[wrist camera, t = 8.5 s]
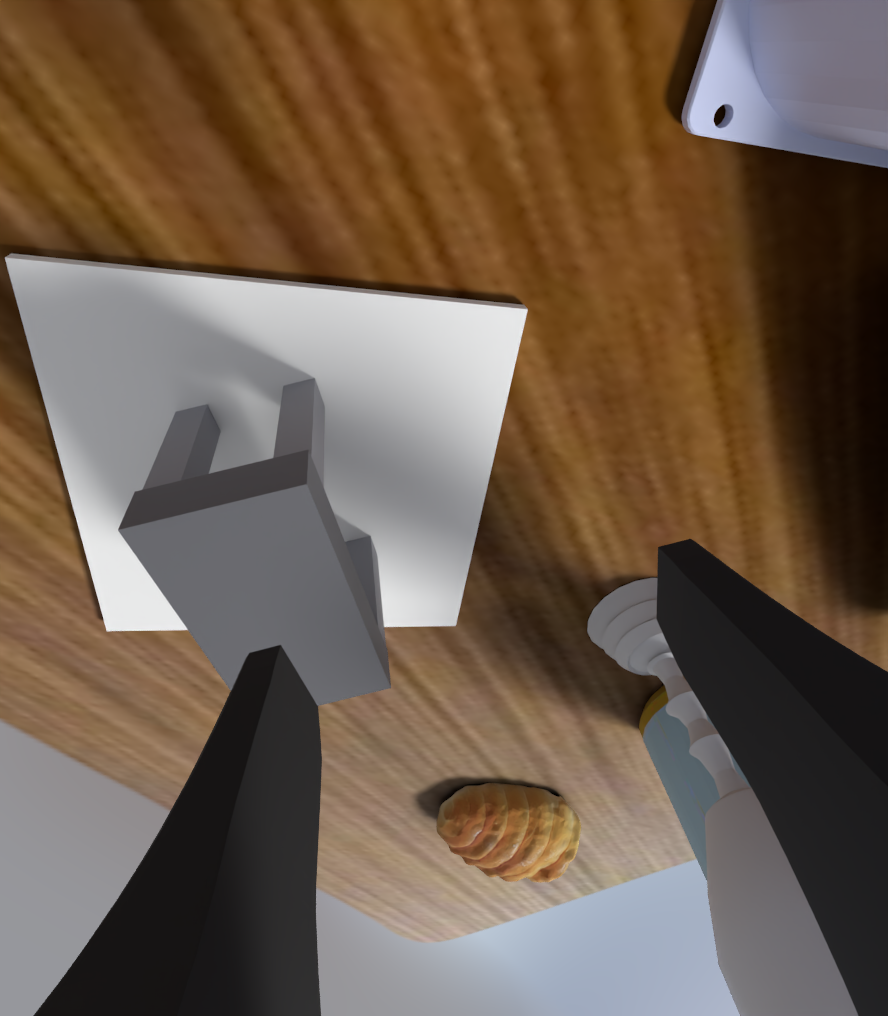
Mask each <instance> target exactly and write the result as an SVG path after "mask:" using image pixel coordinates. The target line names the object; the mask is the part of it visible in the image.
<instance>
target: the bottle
mask: <svg viewBox="0 0 888 1016" xmlns="http://www.w3.org/2000/svg"><path fill="white" fill-rule="evenodd" d="M683 678H684V679H685V677H684V676H683ZM685 680H686V679H685ZM668 701H669V699H668V695H667V691H666V688H665V685H663V686H662V687H661V688H660V689H659V690H658V691H656V692H655V693H654V694H653V695H652V696H651V697H650V699H649V700H648V702H647V703H646V705H645V707H644V710H643V713H642V716H641V719H640V724H639V730H640V733H641V735H642V737H643V740H644V743H645V745H646V748H647V750H648V752H649V754H650V756H651V759H652V761H653V763H654V765H655V767H656V770H657V772H658V774H659V776H660V778H661V781H662V783H663V785H664V787H665V789H666V792H667V794H668V796H669V798H670V801H671V803H672V805H673V807H674V809H675V812H676V814H677V816H678V818H679V820H680V823H681V825H682V827H683V829H684V831H685V834H686V836H687V838H688V840H689V842H690V845H691V847H692V849H693V851H694V854H695V856H696V858H697V860H698V862H699V865H700V866H701V869H702V871H703V873H704V876H705V878H706V880H707V858H706V832H705V816H706V812H707V811H708V810H709V809H710V808H711V806H712V805H713V804H715V803H716V802H717V801H718V800H719V799H720V796H719V793H718V789H717V786H716V783H715V780H714V778H713V777H712V775H711V774H710V773H709V771H708V770H707V769H706V768H705V766H704V765H703V764H702V762H701V761H700V760H699V759H697V758H695V757H694V756H692V755H690V753H689V749H690V743H691V742H690V737H689V733H688V728H687V727H686V726H685V725H684V724H683V723H682V722H681V721H680V720H679V718H676V717H673V716H670V715H669V714H667V712H666V706H667V703H668ZM706 716H707V720H708V721H709V723H710V724H711V725H712V726H713V727H714V725H713V723H712V722H711V720H710V719H709V717H708V715H707V714H706ZM714 728H715V727H714ZM715 729H716V728H715ZM728 750H729V749H728ZM729 753H730V751H729ZM730 756H731V759H732V762H733V765H734V768H735V770H736V772H737V773H738V774H739V775H740V776H741V778H742V779H743V780H744V781H745V782H746V784H747V785H748V786H749V787H751V786H750V784H749V783H748V781H747V779H746V777H745V776H744V774H743V772H742V771H741V769H740V767H739V766H738V764H737V763H736V761H735V759H734V758H733V756H732V754H731V753H730Z"/></svg>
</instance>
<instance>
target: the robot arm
mask: <svg viewBox="0 0 888 1016" xmlns="http://www.w3.org/2000/svg"><path fill="white" fill-rule="evenodd" d="M722 105H724V106H725V109H726V112H725V117H724V119H723V121H722V122H721V123H720V124H719V125H717V126H715V123H714V114H715V113H716V111H717V109H718V108H719V107H720V106H722ZM682 124H683V127H684V128H685V129H686V131H687V132H689V133H691V134H694V135H699V136H705V137H710V138H716V139H722V140H728V141H734V142H739V143H745V144H751V145H757V146H763V147H768V148H774V149H780V150H786V151H792V152H798V153H803V154H809V155H815V156H821V157H827V158H832V159H838V160H844V161H850V162H856V163H861V164H867V165H873V166H879V167H885V168H888V0H717V3H716V6H715V9H714V12H713V16H712V19H711V22H710V25H709V28H708V31H707V34H706V38H705V41H704V44H703V47H702V50H701V53H700V57H699V60H698V63H697V66H696V69H695V72H694V75H693V79H692V82H691V85H690V88H689V91H688V94H687V98H686V101H685V104H684V107H683V111H682ZM656 619H657V622H658V624H659V626H660V628H661V630H662V633H663V635H664V637H665V639H666V642H667V644H668V646H669V648H670V650H671V652H672V655H673V657H674V659H675V661H676V663H677V665H678V667H679V669H680V671H681V672H682V674H683V676H684V677H685V679H686V681H687V682H688V684H689V686H690V687H691V689H692V691H693V692H694V694H695V696H696V697H697V699H698V701H699V702H700V704H701V706H702V707H703V709H704V710H705V712H706V714H707V715H708V717H709V719H710V720H711V722H712V723H713V725H714V727H715V728H716V730H717V732H718V733H719V735H720V736H721V738H722V740H723V741H724V743H725V745H726V746H727V748H728V749H729V751H730V753H731V754H732V756H733V758H734V759H735V761H736V763H737V764H738V766H739V767H740V769H741V771H742V772H743V774H744V776H745V777H746V779H747V781H748V783H749V784H750V786H751V788H752V790H753V792H754V793H755V795H756V797H757V799H758V800H759V802H760V804H761V806H762V808H763V810H764V812H765V815H766V817H767V819H768V821H769V823H770V825H771V827H772V829H773V831H774V833H775V835H776V837H777V839H778V841H779V843H780V845H781V847H782V849H783V851H784V853H785V855H786V857H787V859H788V861H789V863H790V865H791V868H792V870H793V872H794V874H795V876H796V878H797V880H798V882H799V884H800V887H801V889H802V891H803V893H804V895H805V897H806V899H807V901H808V903H809V906H810V908H811V910H812V912H813V914H814V916H815V919H816V921H817V923H818V925H819V927H820V930H821V932H822V934H823V936H824V938H825V941H826V943H827V945H828V947H829V950H830V952H831V954H832V956H833V958H834V961H835V963H836V965H837V967H838V970H839V972H840V974H841V976H842V978H843V981H844V983H845V985H846V988H847V990H848V992H849V995H850V997H851V999H852V1002H853V1004H854V1006H855V1009H856V1011H857V1013H858V1016H888V672H887V671H885V670H883V669H882V668H880V667H878V666H877V665H875V664H873V663H871V662H870V661H868V660H866V659H865V658H863V657H861V656H860V655H858V654H856V653H855V652H853V651H852V650H850V649H848V648H847V647H845V646H843V645H842V644H840V643H839V642H837V641H835V640H834V639H832V638H831V637H829V636H827V635H826V634H824V633H823V632H821V631H820V630H818V629H817V628H815V627H814V626H812V625H810V624H809V623H807V622H806V621H804V620H803V619H802V618H800V617H799V616H797V615H796V614H794V613H793V612H791V611H790V610H788V609H787V608H785V607H784V606H782V605H781V604H780V603H778V602H777V601H775V600H774V599H772V598H771V597H769V596H768V595H767V594H765V593H764V592H762V591H761V590H760V589H758V588H757V587H755V586H754V585H753V584H751V583H750V582H749V581H747V580H746V579H744V578H743V577H742V576H740V575H739V574H738V573H736V572H735V571H734V570H732V569H731V568H730V567H728V566H727V565H726V564H724V563H723V562H722V561H720V560H719V559H718V558H716V557H715V556H714V555H712V554H711V553H710V552H708V551H707V550H706V549H704V548H703V547H702V546H700V545H699V544H698V543H696V542H695V541H693V540H692V539H688V540H684V541H680V542H676V543H673V544H669V545H665V546H661V547H658V577H657V615H656ZM321 766H322V756H321V739H320V726H319V714H318V706H317V704H316V702H315V701H314V699H313V697H312V696H311V694H310V692H309V691H308V689H307V687H306V686H305V684H304V682H303V681H302V679H301V677H300V676H299V674H298V672H297V671H296V669H295V667H294V666H293V664H292V662H291V661H290V659H289V657H288V656H287V654H286V652H285V651H284V649H283V648H282V646H281V645H278V646H274V647H270V648H266V649H262V650H258V651H254V652H251V653H249V654H248V656H247V657H246V659H245V661H244V663H243V665H242V668H241V670H240V672H239V674H238V676H237V679H236V681H235V683H234V685H233V688H232V690H231V692H230V694H229V696H228V698H227V701H226V703H225V705H224V707H223V709H222V711H221V714H220V716H219V718H218V720H217V722H216V724H215V726H214V728H213V730H212V732H211V734H210V736H209V739H208V741H207V743H206V745H205V747H204V749H203V751H202V753H201V755H200V757H199V759H198V761H197V763H196V765H195V767H194V769H193V771H192V773H191V775H190V776H189V778H188V780H187V782H186V784H185V786H184V788H183V789H182V791H181V793H180V795H179V797H178V799H177V800H176V802H175V804H174V806H173V808H172V809H171V811H170V813H169V815H168V817H167V819H166V820H165V822H164V824H163V826H162V828H161V830H160V831H159V833H158V835H157V836H156V838H155V840H154V841H153V843H152V845H151V846H150V848H149V850H148V851H147V853H146V855H145V856H144V858H143V860H142V861H141V863H140V865H139V866H138V868H137V869H136V871H135V873H134V874H133V876H132V877H131V879H130V880H129V882H128V884H127V885H126V887H125V888H124V890H123V891H122V893H121V895H120V896H119V898H118V899H117V901H116V902H115V904H114V905H113V907H112V908H111V910H110V911H109V912H108V914H107V915H106V917H105V918H104V920H103V921H102V923H101V924H100V926H99V927H98V929H97V930H96V931H95V933H94V935H93V936H92V937H91V939H90V940H89V942H88V943H87V945H86V946H85V947H84V949H83V950H82V952H81V953H80V954H79V956H78V957H77V959H76V960H75V962H74V963H73V964H72V966H71V967H70V968H69V970H68V971H67V973H66V974H65V975H64V977H63V978H62V979H61V981H60V982H59V984H58V985H57V986H56V987H55V989H54V990H53V991H52V992H51V994H50V995H49V996H48V998H47V999H46V1000H45V1002H44V1003H43V1004H42V1005H41V1007H40V1008H39V1009H38V1011H37V1012H36V1013H35V1015H34V1016H321V1009H320V993H319V976H318V954H317V931H316V875H317V854H318V834H319V813H320V791H321Z"/></svg>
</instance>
